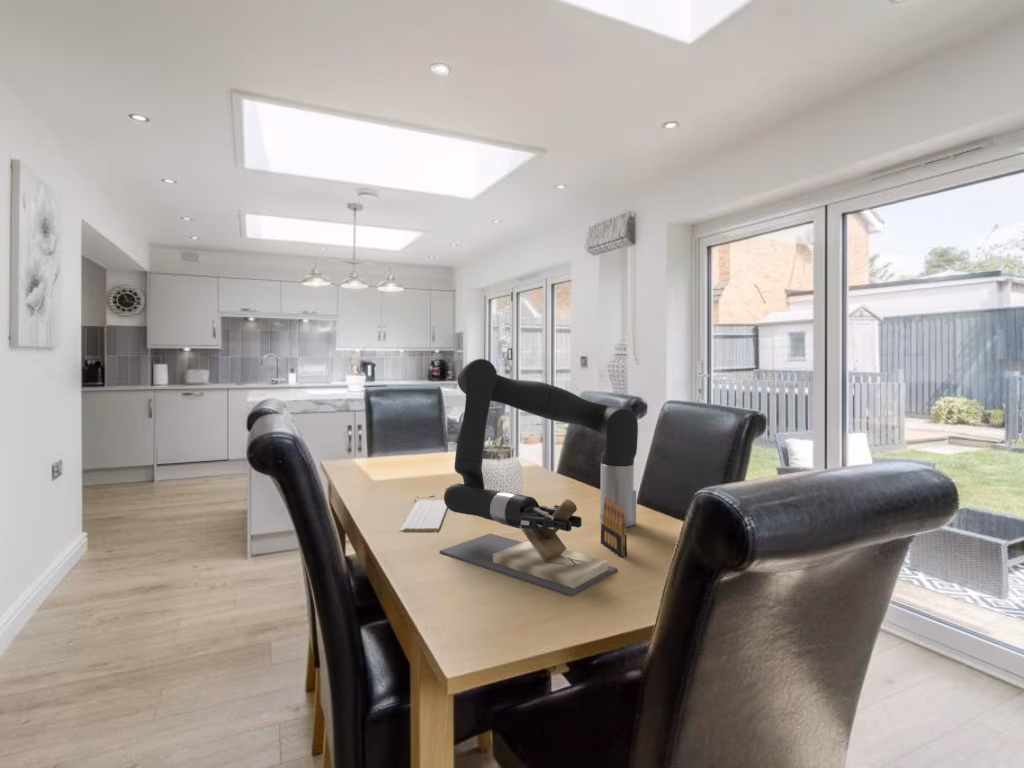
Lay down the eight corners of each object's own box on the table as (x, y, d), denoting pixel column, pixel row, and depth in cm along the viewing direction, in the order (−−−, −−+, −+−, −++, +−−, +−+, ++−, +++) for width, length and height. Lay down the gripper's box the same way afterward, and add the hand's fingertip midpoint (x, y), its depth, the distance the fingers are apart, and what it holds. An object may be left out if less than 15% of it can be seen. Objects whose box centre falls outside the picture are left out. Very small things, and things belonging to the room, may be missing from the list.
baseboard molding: (393, 533, 151) (438, 534, 151) (393, 523, 151) (438, 523, 151) (412, 504, 182) (449, 504, 182) (412, 495, 182) (449, 495, 182)
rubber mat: (439, 552, 134) (439, 550, 134) (490, 535, 148) (490, 533, 148) (571, 596, 110) (571, 593, 110) (617, 570, 123) (617, 568, 123)
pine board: (492, 562, 126) (492, 553, 126) (528, 548, 136) (528, 540, 136) (574, 588, 112) (574, 578, 112) (607, 570, 122) (607, 561, 122)
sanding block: (518, 524, 126) (548, 489, 120) (534, 519, 130) (564, 485, 125) (544, 562, 121) (576, 527, 116) (560, 555, 126) (592, 521, 120)
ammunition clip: (600, 543, 142) (600, 496, 142) (607, 542, 143) (607, 495, 142) (619, 557, 132) (620, 506, 132) (626, 556, 133) (627, 506, 132)
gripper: (493, 499, 125) (556, 513, 114) (533, 489, 136) (593, 501, 125) (493, 532, 125) (556, 550, 114) (532, 519, 136) (593, 534, 125)
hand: (575, 524), depth 119 cm, fingers closed on sanding block, 3 cm apart
